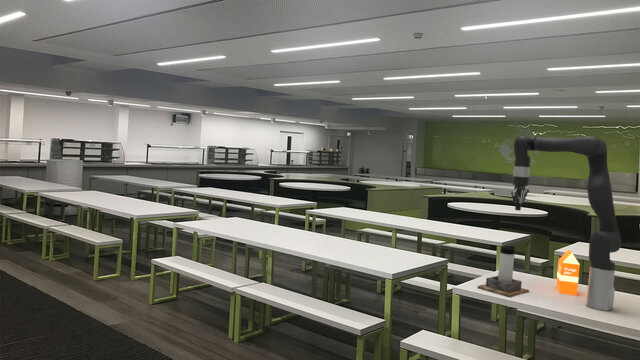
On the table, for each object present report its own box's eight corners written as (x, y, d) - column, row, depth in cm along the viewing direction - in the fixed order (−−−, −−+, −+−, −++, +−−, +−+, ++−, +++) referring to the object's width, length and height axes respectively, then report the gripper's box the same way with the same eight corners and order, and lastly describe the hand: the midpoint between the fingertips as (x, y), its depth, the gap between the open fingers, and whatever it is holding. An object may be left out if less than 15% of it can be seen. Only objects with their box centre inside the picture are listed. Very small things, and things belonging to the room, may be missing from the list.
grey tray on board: (528, 291, 221) (529, 281, 221) (509, 297, 210) (510, 286, 209) (497, 283, 233) (498, 273, 233) (477, 288, 222) (478, 277, 222)
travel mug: (514, 289, 220) (518, 247, 219) (503, 290, 218) (507, 247, 217) (505, 285, 226) (508, 244, 225) (494, 286, 223) (497, 244, 222)
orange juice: (559, 292, 223) (562, 251, 222) (555, 288, 232) (559, 248, 231) (577, 295, 221) (581, 253, 220) (573, 290, 229) (577, 250, 228)
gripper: (522, 176, 227) (518, 211, 228) (534, 176, 235) (531, 210, 237) (507, 175, 233) (504, 209, 234) (520, 175, 241) (517, 208, 242)
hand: (517, 210), depth 235 cm, fingers closed
